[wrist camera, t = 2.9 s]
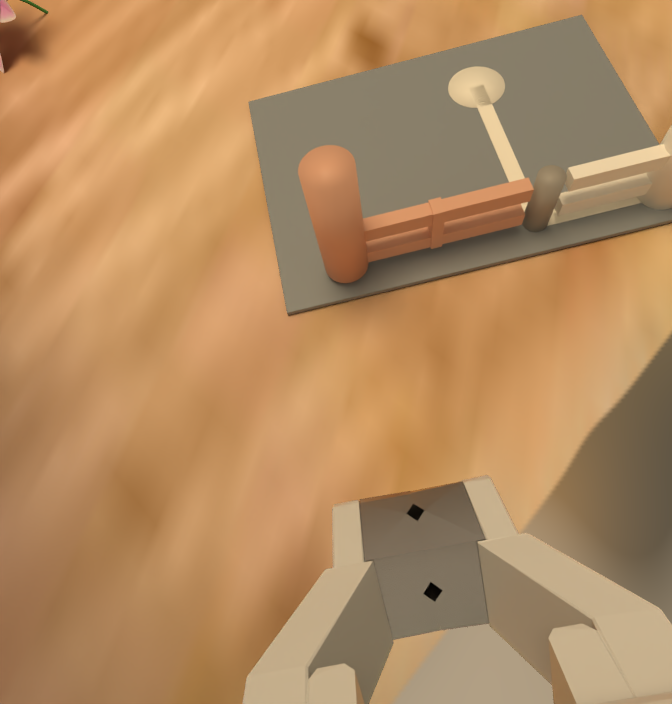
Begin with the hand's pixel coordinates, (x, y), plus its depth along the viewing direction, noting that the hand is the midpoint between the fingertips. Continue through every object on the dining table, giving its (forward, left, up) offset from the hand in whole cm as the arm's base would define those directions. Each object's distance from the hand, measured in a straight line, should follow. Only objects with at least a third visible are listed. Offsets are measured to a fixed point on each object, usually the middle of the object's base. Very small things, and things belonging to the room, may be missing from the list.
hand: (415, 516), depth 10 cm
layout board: (-21, +21, -23) cm, 37 cm away
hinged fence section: (-15, +14, -22) cm, 30 cm away
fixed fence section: (-10, +26, -22) cm, 35 cm away
